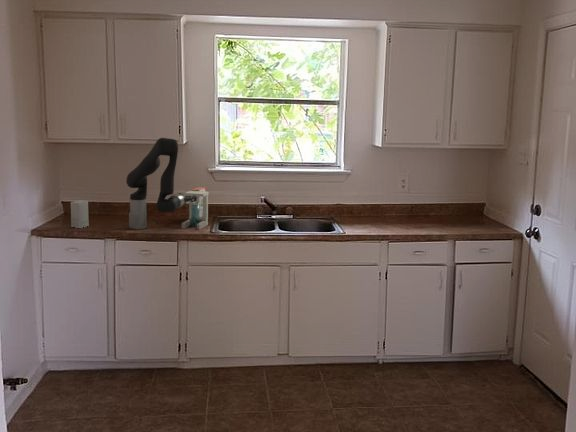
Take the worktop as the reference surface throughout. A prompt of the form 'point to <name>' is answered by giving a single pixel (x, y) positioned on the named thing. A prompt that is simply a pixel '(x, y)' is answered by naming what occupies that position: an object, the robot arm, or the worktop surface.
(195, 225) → the canister
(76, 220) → the skincare box
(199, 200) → the cracker box
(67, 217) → the worktop surface
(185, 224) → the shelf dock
